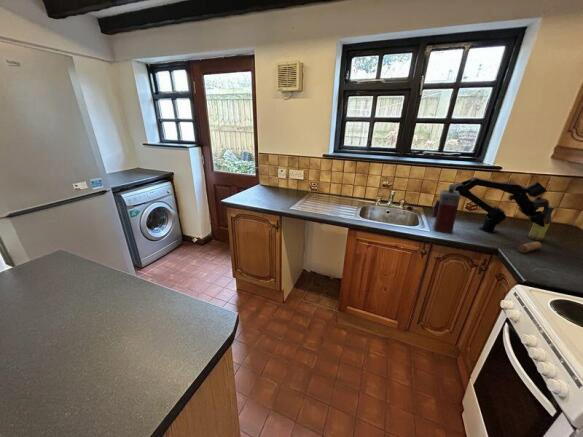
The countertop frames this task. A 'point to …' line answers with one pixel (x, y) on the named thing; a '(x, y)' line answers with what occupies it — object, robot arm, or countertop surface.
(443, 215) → the red bottle
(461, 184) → the robot arm
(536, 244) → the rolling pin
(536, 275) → the countertop surface
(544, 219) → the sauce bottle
